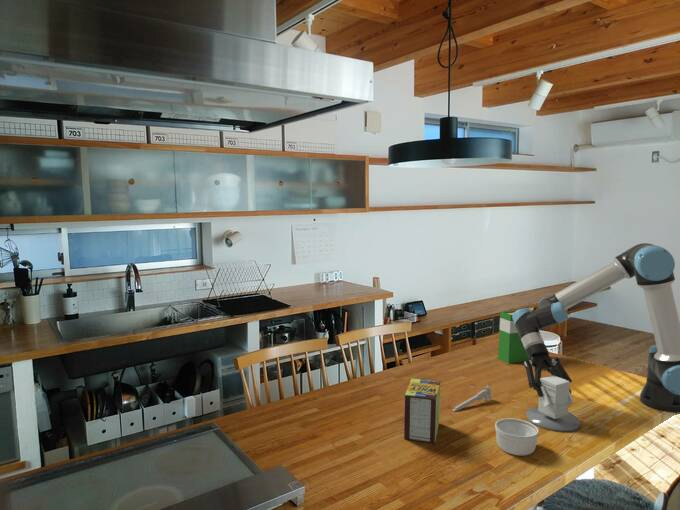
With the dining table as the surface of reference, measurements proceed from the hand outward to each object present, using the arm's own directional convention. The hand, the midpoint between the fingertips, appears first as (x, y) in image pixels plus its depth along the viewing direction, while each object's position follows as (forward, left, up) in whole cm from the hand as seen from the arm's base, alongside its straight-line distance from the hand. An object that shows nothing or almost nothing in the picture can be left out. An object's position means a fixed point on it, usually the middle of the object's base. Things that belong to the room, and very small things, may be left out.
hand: (559, 404), depth 172 cm
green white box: (+34, -62, -8) cm, 71 cm away
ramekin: (+6, +26, -8) cm, 28 cm away
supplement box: (+3, -2, -5) cm, 6 cm away
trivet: (+2, -2, -7) cm, 8 cm away
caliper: (+30, +4, -8) cm, 32 cm away
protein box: (+35, +35, -8) cm, 50 cm away
